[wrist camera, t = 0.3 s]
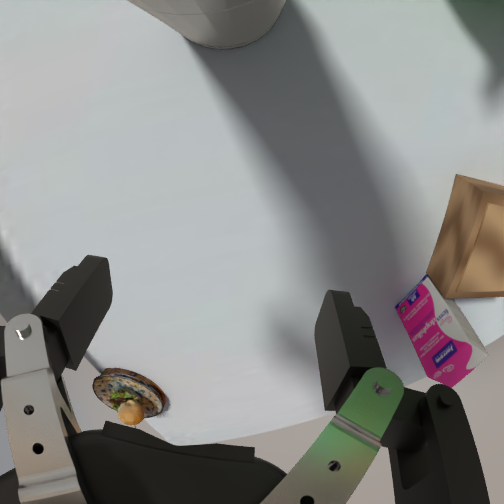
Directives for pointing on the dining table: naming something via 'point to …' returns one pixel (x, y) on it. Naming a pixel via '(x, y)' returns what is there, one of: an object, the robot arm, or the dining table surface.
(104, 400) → the burger
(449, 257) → the walnut plinth
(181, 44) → the dining table surface
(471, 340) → the supplement box
